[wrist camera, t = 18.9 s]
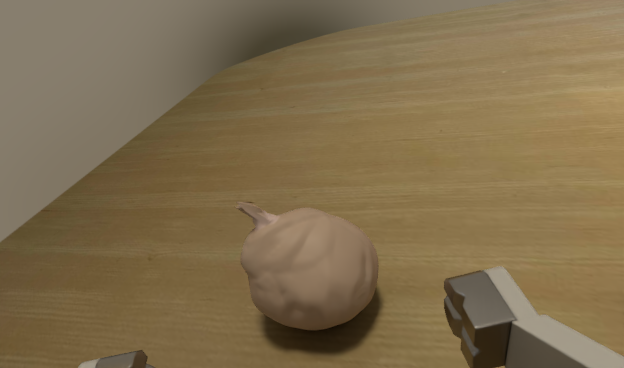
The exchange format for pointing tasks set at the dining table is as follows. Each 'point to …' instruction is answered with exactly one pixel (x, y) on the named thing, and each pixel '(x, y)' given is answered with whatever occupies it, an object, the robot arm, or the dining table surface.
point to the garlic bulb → (308, 267)
